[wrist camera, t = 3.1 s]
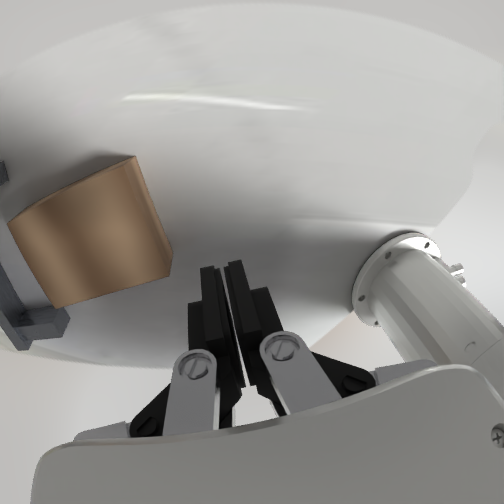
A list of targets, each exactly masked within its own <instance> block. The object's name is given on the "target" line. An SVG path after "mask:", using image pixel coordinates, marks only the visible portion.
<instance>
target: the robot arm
mask: <svg viewBox="0 0 504 504" xmlns="http://www.w3.org/2000/svg"><path fill="white" fill-rule="evenodd" d="M228 265H229V266H226V267H224V272H225V278H226V283H227V288H228V294H229V299H230V304H231V309H232V314H233V320H234V325H235V330H236V334H237V338H238V342H239V346H240V350H241V354H242V357H243V361H244V365H245V368H246V372H247V376H248V379H249V383H250V386H254V385H256V387H257V391H258V394H260V395H262V396H264V397H266V398H268V399H269V400H270V404H271V406H272V408H273V410H274V412H275V414H276V416H277V418H274V419H270V420H266V421H261V422H257V423H252V424H247V425H241V426H236V427H235V406H234V405H235V404H236V403H237V402H238V401H239V399H240V398H241V396H242V392H241V388H244V387H246V385H245V380H244V376H243V370H242V365H241V361H240V356H239V351H238V346H237V341H236V336H235V331H234V326H233V321H232V316H231V313H230V309H229V305H228V301H227V297H226V293H225V289H224V284H223V280H222V276H221V272H220V268H217V269H214V266H209V267H204V268H200V273H201V290H202V301H198V302H193V303H188V344H189V351H188V352H186V353H184V354H182V355H181V356H180V357H179V358H178V359H177V360H176V362H175V365H174V368H173V373H172V379H171V383H170V384H169V385H168V386H167V387H166V388H165V389H164V390H163V391H161V393H159V394H158V395H157V396H156V397H155V398H154V399H153V400H152V401H151V402H150V403H149V404H148V405H147V406H146V407H145V408H144V409H143V410H142V411H141V412H140V413H139V414H138V415H136V416H135V418H134V419H133V420H132V422H130V423H126V422H125V421H124V422H120V423H116V424H112V425H108V426H104V427H100V428H96V429H91V430H87V431H83V432H81V433H79V434H78V435H76V437H75V438H74V440H73V442H69V443H65V444H62V445H59V446H57V447H54V448H52V449H50V450H49V451H47V452H46V453H45V454H44V455H43V456H42V457H41V458H40V460H39V462H38V464H37V467H36V470H35V474H34V479H33V485H32V491H31V502H30V504H504V327H503V325H501V323H500V322H499V321H498V320H497V319H496V318H495V317H494V316H493V315H492V314H491V313H490V312H489V311H488V310H487V309H486V308H485V307H484V306H483V304H482V303H480V302H479V300H477V298H475V297H474V296H473V295H472V294H471V293H470V292H469V291H468V290H467V289H466V288H465V286H466V282H465V279H464V278H463V277H462V276H457V275H459V274H462V273H463V266H462V265H461V264H460V263H458V264H456V265H453V266H451V267H449V266H448V265H446V264H445V263H444V262H443V261H442V260H441V254H440V250H439V248H438V246H437V245H436V243H435V242H433V241H432V240H431V239H430V238H429V237H427V236H426V235H424V234H420V233H407V234H402V235H400V236H397V237H395V238H393V239H391V240H389V241H388V242H386V243H385V244H383V245H382V246H381V247H380V248H379V249H377V250H376V251H375V252H374V253H373V254H372V256H371V257H370V258H369V259H368V260H367V261H366V263H365V264H364V266H363V267H362V269H361V270H360V272H359V274H358V276H357V278H356V281H355V284H354V287H353V292H352V305H353V308H354V311H355V313H356V314H357V316H358V317H359V319H360V320H361V321H362V322H363V323H365V324H367V325H369V326H373V327H382V328H383V330H384V331H385V333H386V334H387V336H388V337H389V338H390V340H391V341H392V343H393V345H394V346H395V348H396V349H397V351H398V352H399V354H400V355H401V357H402V358H403V360H404V361H405V363H402V364H396V365H390V366H385V367H379V368H375V371H370V372H368V371H366V370H364V369H362V368H359V367H356V366H352V365H350V364H346V363H343V362H340V361H337V360H334V359H331V358H328V357H326V356H323V355H320V354H317V353H314V352H311V351H310V350H309V349H308V347H307V346H306V344H305V343H304V341H303V340H302V339H301V338H300V337H299V335H297V334H295V333H292V332H288V331H284V330H283V327H282V325H281V322H280V319H279V317H278V314H277V311H276V309H275V306H274V304H273V301H272V298H271V296H270V293H269V290H268V288H267V287H263V288H258V289H254V290H250V288H249V285H248V281H247V278H246V275H245V271H244V268H243V264H242V261H241V260H237V261H232V262H228ZM455 276H457V277H455Z"/></svg>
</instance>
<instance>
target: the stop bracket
mask: <svg viewBox="0 0 504 504" xmlns="http://www.w3.org/2000/svg"><path fill="white" fill-rule="evenodd" d="M7 181H9V179H8V176H7V172H6V169H5V165H4V161H2V162H0V186H1V185H2V184H4V183H6V182H7ZM69 320H70V317H69V315H68V314H67V312H66V310H65V309H64V307H61V308H58V309H55V308H54V306H49V307H44V308H38V309H32V310H25V308H24V306H23V305H22V303H21V301H20V299H19V298H18V296H17V294H16V292H15V291H14V289H13V287H12V285H11V283H10V281H9V280H8V278H7V276H6V274H5V272H4V270H3V268H2V266H1V264H0V326H1V327H2V329H3V330H4V332H5V333H6V335H7V336H8V338H9V339H10V340H11V342H12V343H13V344H14V346H15V347H16V349H17V350H18V351H22V350H29V348H30V346H31V344H32V342H33V340H40V339H50V338H60V337H62V336H63V334H64V332H65V329H66V327H67V325H68V323H69Z"/></svg>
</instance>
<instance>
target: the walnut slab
mask: <svg viewBox="0 0 504 504" xmlns="http://www.w3.org/2000/svg"><path fill="white" fill-rule="evenodd" d="M7 225H8V227H9V230H10V232H11V234H12V236H13V238H14V240H15V242H16V244H17V246H18V248H19V249H20V251H21V253H22V255H23V257H24V259H25V261H26V262H27V264H28V266H29V268H30V269H31V271H32V273H33V275H34V276H35V278H36V280H37V281H38V283H39V284H40V286H41V288H42V289H43V291H44V292H45V294H46V296H47V297H48V299H49V300H50V302H51V303H52V305H53V306H54V308H55V309H58V308H61V307H65V306H68V305H71V304H75V303H78V302H82V301H85V300H89V299H92V298H96V297H99V296H102V295H106V294H109V293H113V292H116V291H120V290H123V289H127V288H130V287H133V286H137V285H140V284H144V283H147V282H151V281H154V280H157V279H161V278H164V277H168V276H169V275H170V269H171V262H172V256H173V252H172V249H171V247H170V245H169V242H168V240H167V237H166V235H165V232H164V230H163V228H162V225H161V223H160V220H159V218H158V215H157V212H156V210H155V207H154V205H153V202H152V200H151V197H150V194H149V192H148V189H147V186H146V184H145V181H144V178H143V175H142V173H141V170H140V167H139V164H138V161H137V159H136V156H134V157H132V158H129V159H127V160H124V161H122V162H119V163H117V164H114V165H112V166H110V167H107V168H105V169H103V170H100V171H98V172H96V173H94V174H92V175H89V176H87V177H85V178H83V179H81V180H79V181H77V182H74V183H72V184H70V185H68V186H66V187H64V188H62V189H60V190H58V191H56V192H54V193H52V194H51V195H49V196H47V197H45V198H43V199H41V200H39V201H38V202H36V203H34V204H32V205H30V206H29V207H27V208H26V209H24V210H23V211H22V212H20V213H19V214H18V215H17V216H15V217H14V218H13V219H12V220H11V221H9V222H8V223H7Z"/></svg>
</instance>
